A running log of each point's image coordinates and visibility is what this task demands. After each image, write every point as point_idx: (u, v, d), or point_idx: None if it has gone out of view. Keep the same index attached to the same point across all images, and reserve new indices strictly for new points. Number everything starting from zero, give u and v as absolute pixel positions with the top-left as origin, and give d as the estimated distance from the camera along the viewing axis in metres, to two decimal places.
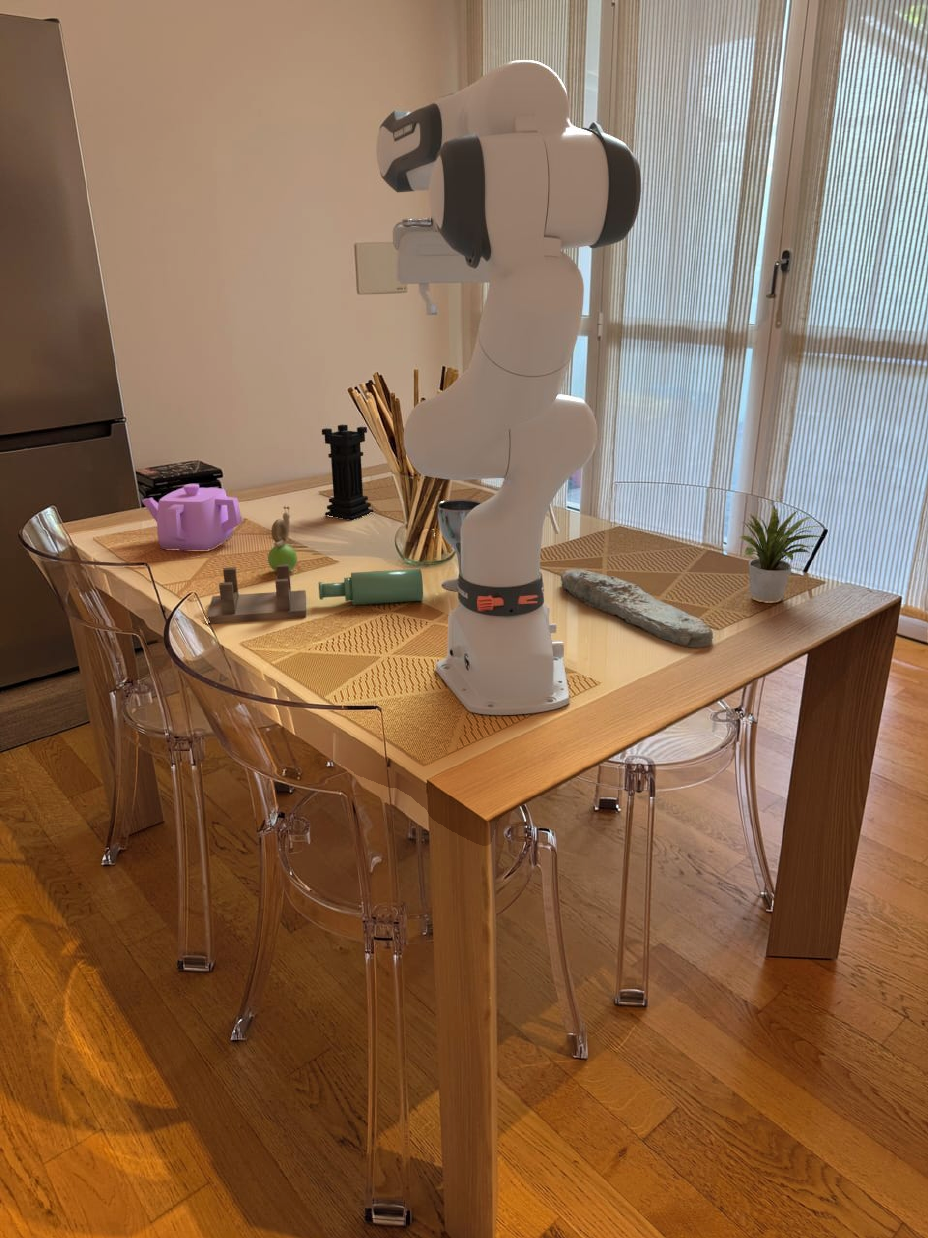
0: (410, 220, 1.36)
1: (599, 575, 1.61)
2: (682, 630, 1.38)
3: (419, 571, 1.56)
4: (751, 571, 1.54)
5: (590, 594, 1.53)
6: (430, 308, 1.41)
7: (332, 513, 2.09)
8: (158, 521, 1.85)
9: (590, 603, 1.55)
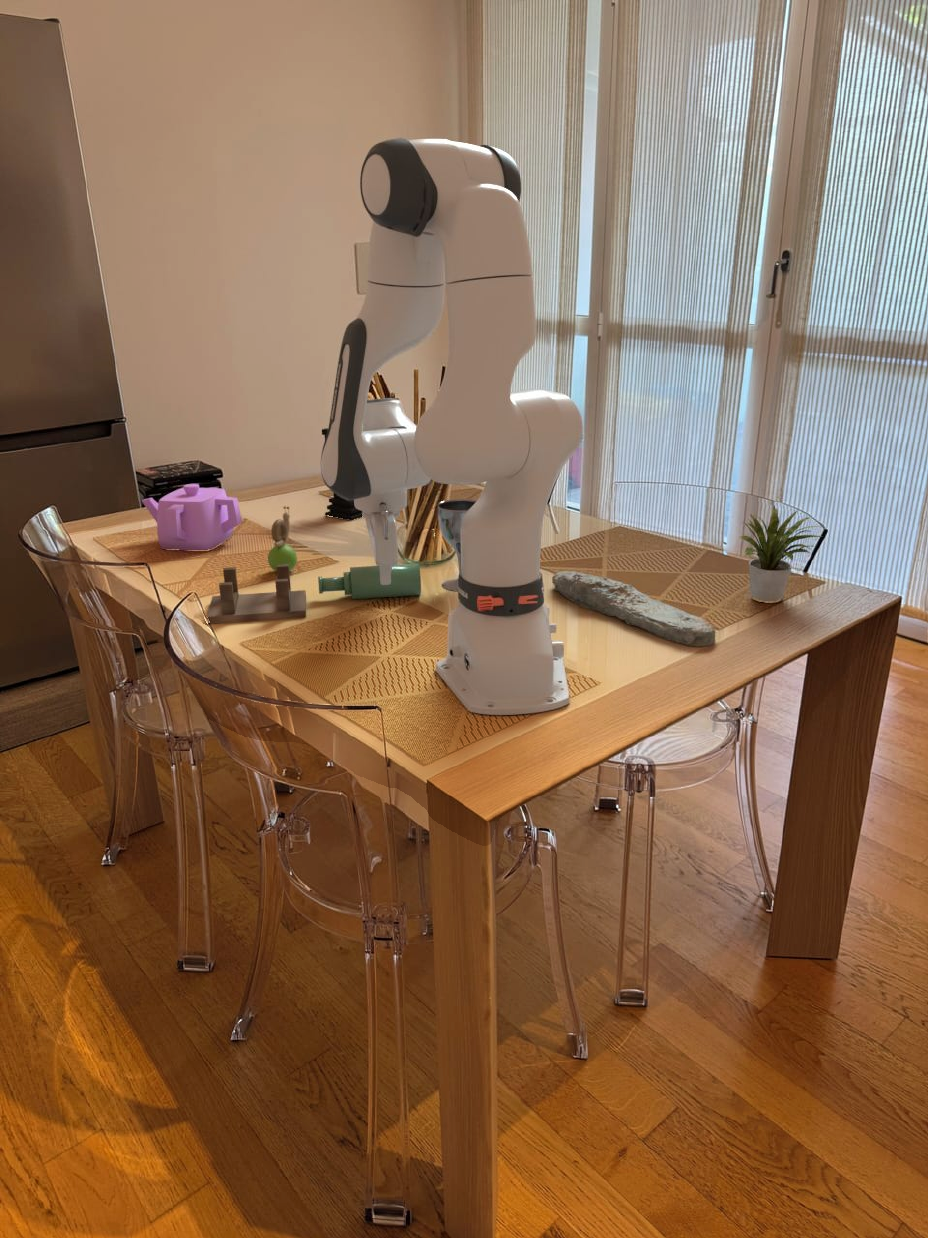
0: (387, 510, 1.44)
1: (591, 576, 1.60)
2: (686, 629, 1.38)
3: None
4: (751, 571, 1.54)
5: (586, 596, 1.52)
6: (390, 578, 1.51)
7: (332, 513, 2.09)
8: (158, 521, 1.85)
9: (586, 605, 1.54)
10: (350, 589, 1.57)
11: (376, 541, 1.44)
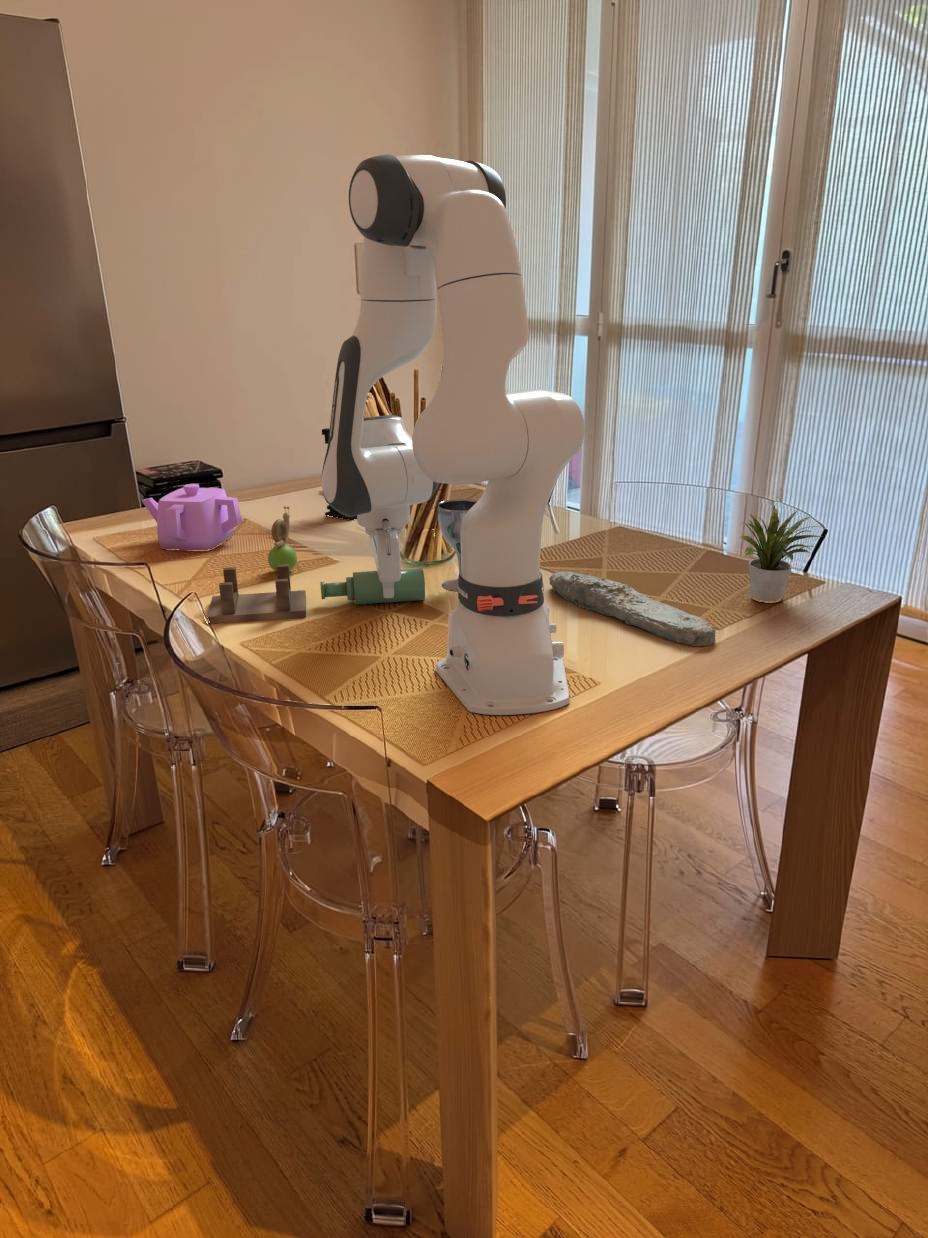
0: (389, 526, 1.45)
1: (589, 577, 1.60)
2: (687, 629, 1.38)
3: None
4: (751, 571, 1.54)
5: (585, 596, 1.52)
6: (393, 591, 1.53)
7: (332, 513, 2.09)
8: (158, 521, 1.85)
9: (584, 605, 1.53)
10: (353, 598, 1.55)
11: (379, 557, 1.44)
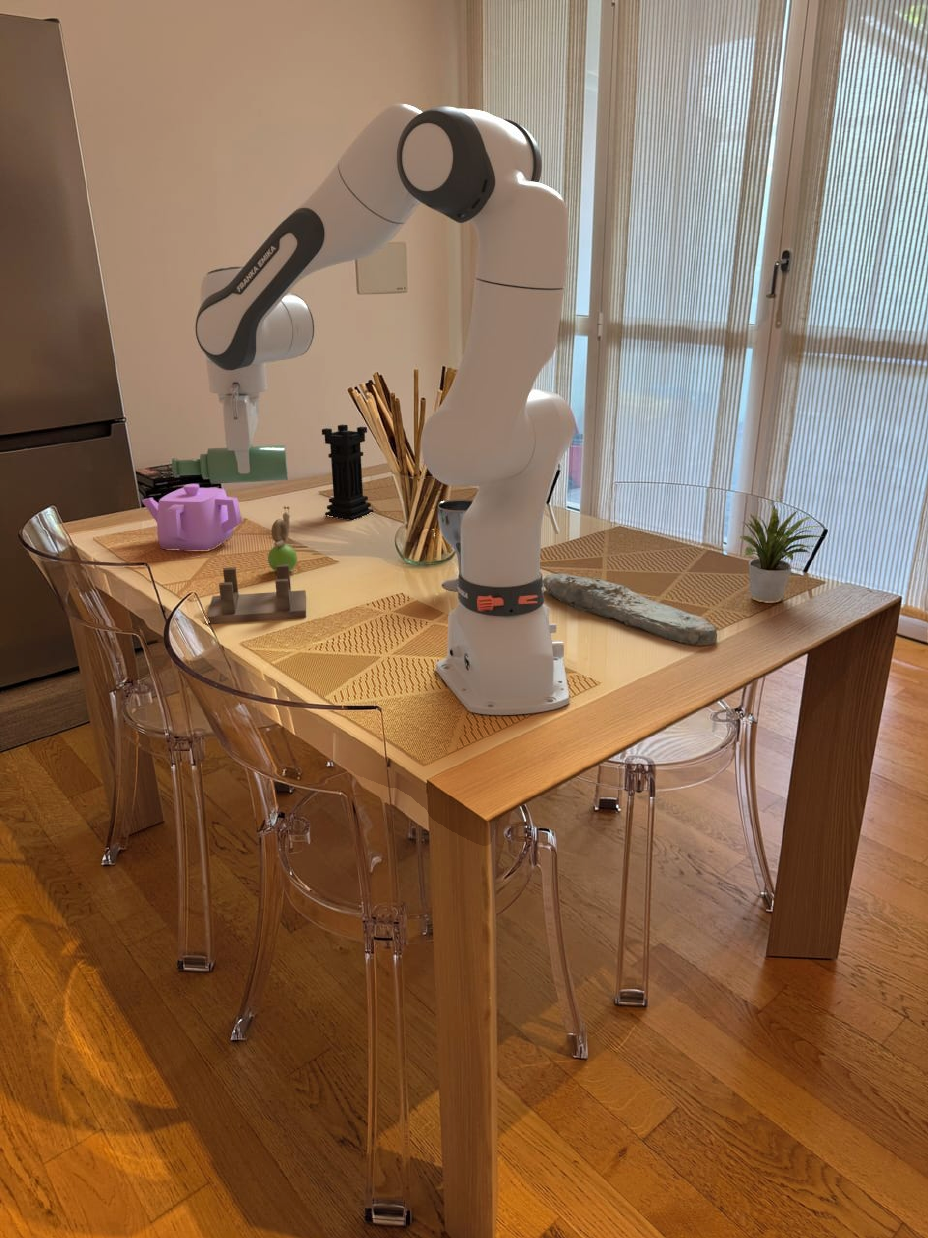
0: (236, 387, 1.33)
1: (582, 578, 1.59)
2: (689, 629, 1.38)
3: None
4: (751, 571, 1.54)
5: (582, 598, 1.51)
6: (249, 466, 1.42)
7: (332, 513, 2.09)
8: (158, 521, 1.85)
9: (581, 607, 1.53)
10: (208, 476, 1.43)
11: (225, 421, 1.33)
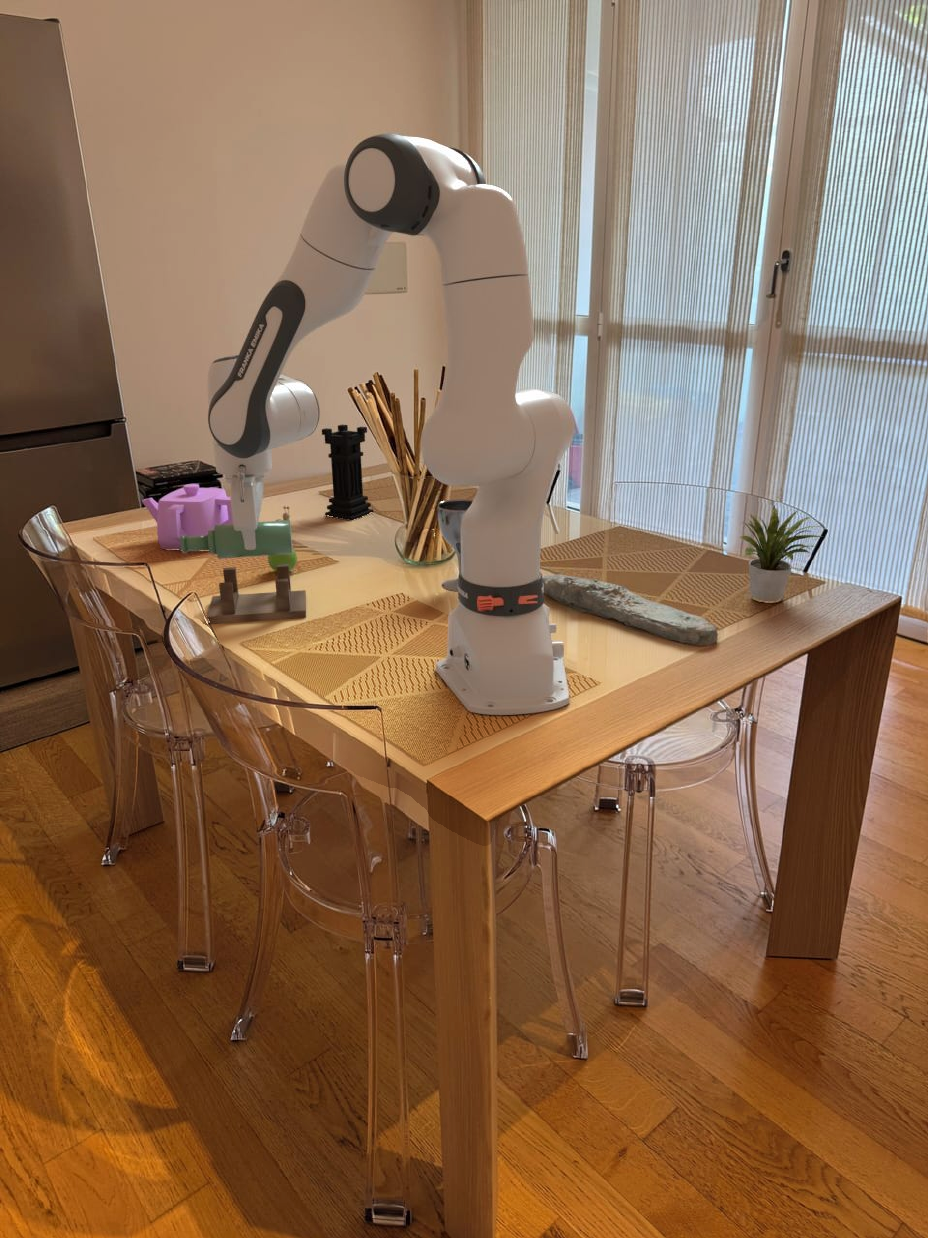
0: (243, 471, 1.38)
1: (580, 579, 1.59)
2: (690, 629, 1.38)
3: None
4: (751, 571, 1.54)
5: (581, 599, 1.51)
6: (255, 543, 1.46)
7: (332, 513, 2.09)
8: (158, 521, 1.85)
9: (580, 608, 1.52)
10: (215, 551, 1.48)
11: (232, 504, 1.38)
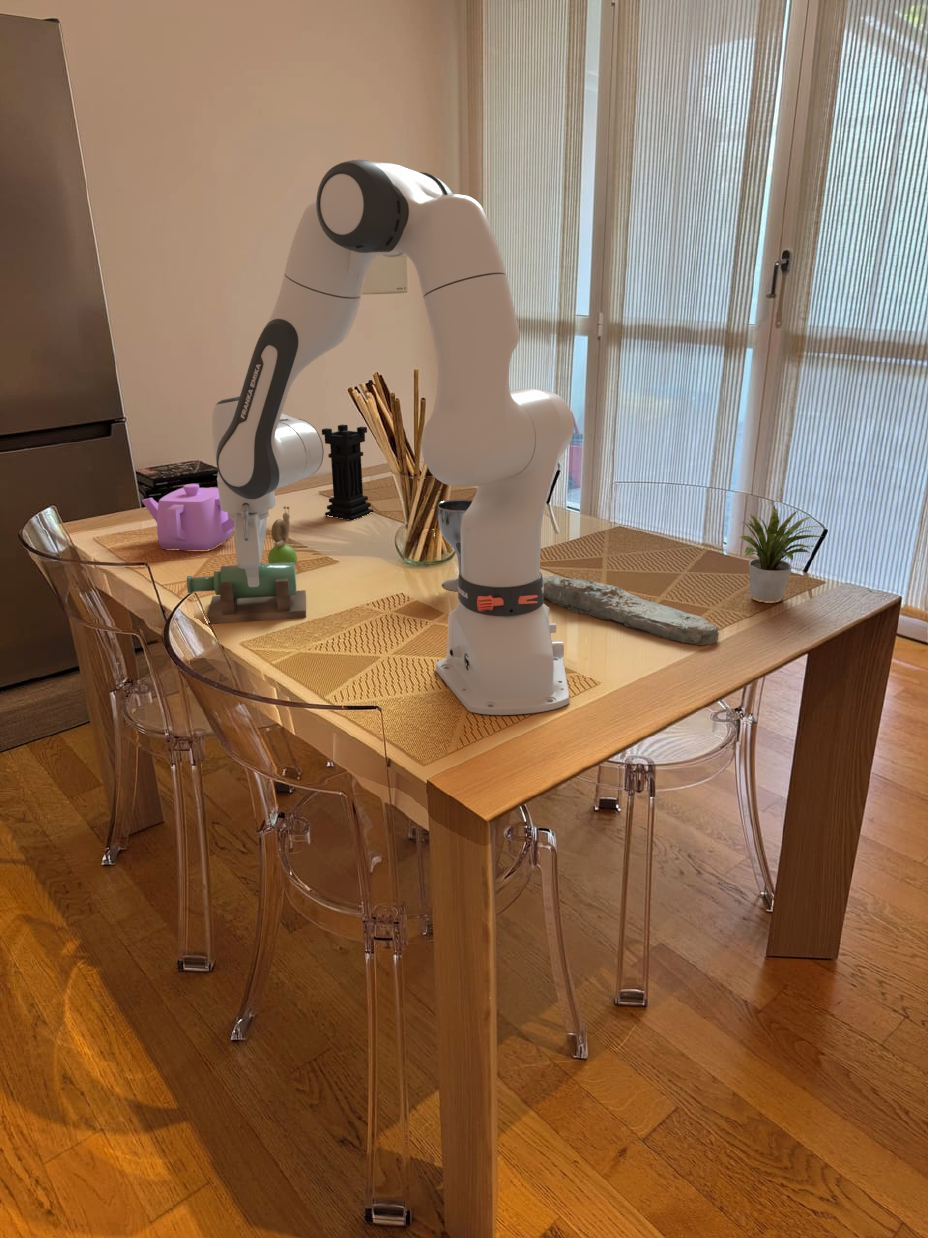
0: (247, 510, 1.40)
1: (575, 580, 1.58)
2: (692, 629, 1.38)
3: None
4: (751, 571, 1.54)
5: (579, 601, 1.50)
6: None
7: (332, 513, 2.09)
8: (158, 521, 1.85)
9: (578, 610, 1.52)
10: None
11: (236, 542, 1.40)
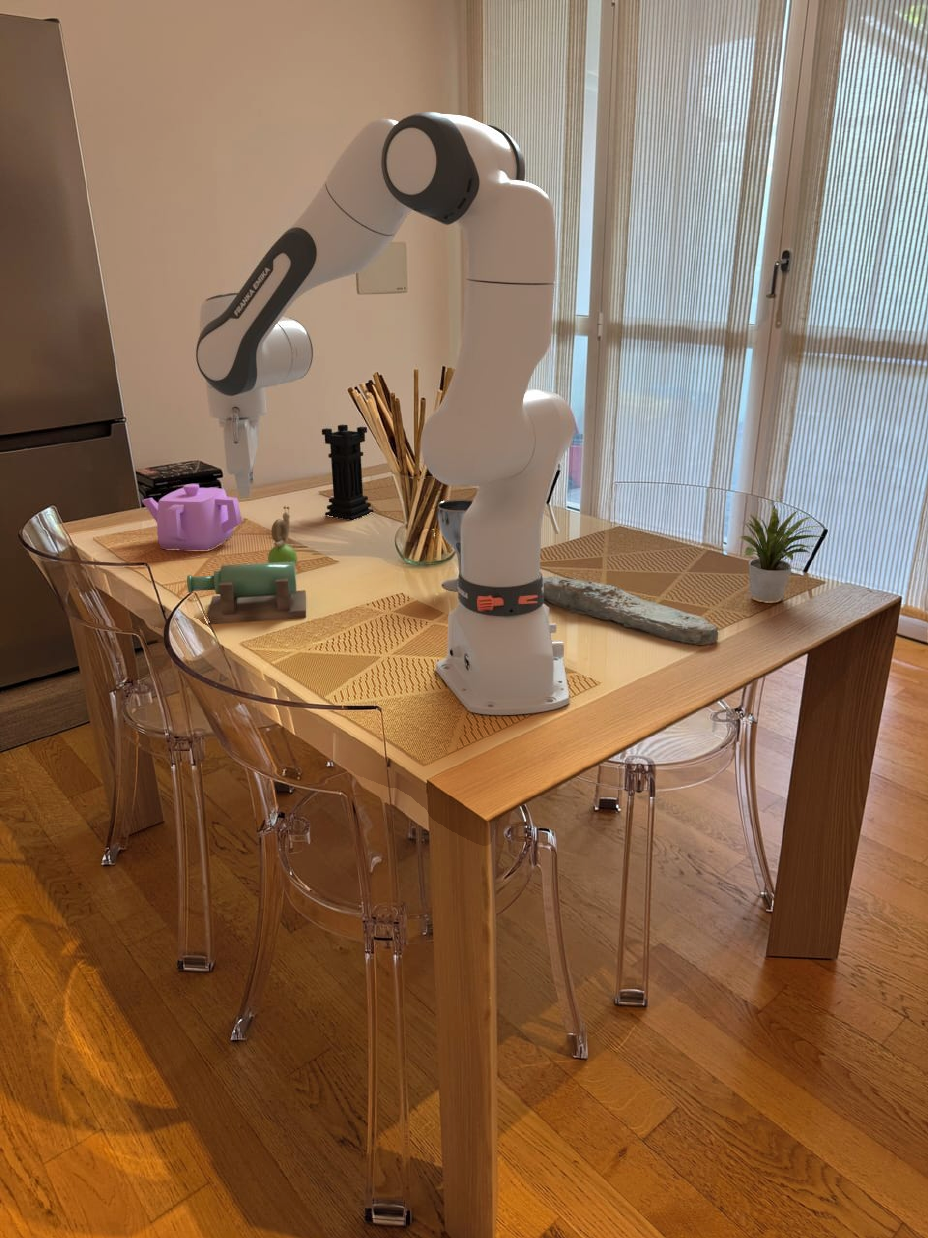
0: (236, 412, 1.35)
1: (574, 581, 1.58)
2: (692, 629, 1.38)
3: None
4: (751, 571, 1.54)
5: (578, 601, 1.50)
6: (250, 491, 1.42)
7: (332, 513, 2.09)
8: (158, 521, 1.85)
9: (577, 610, 1.51)
10: None
11: (225, 445, 1.34)
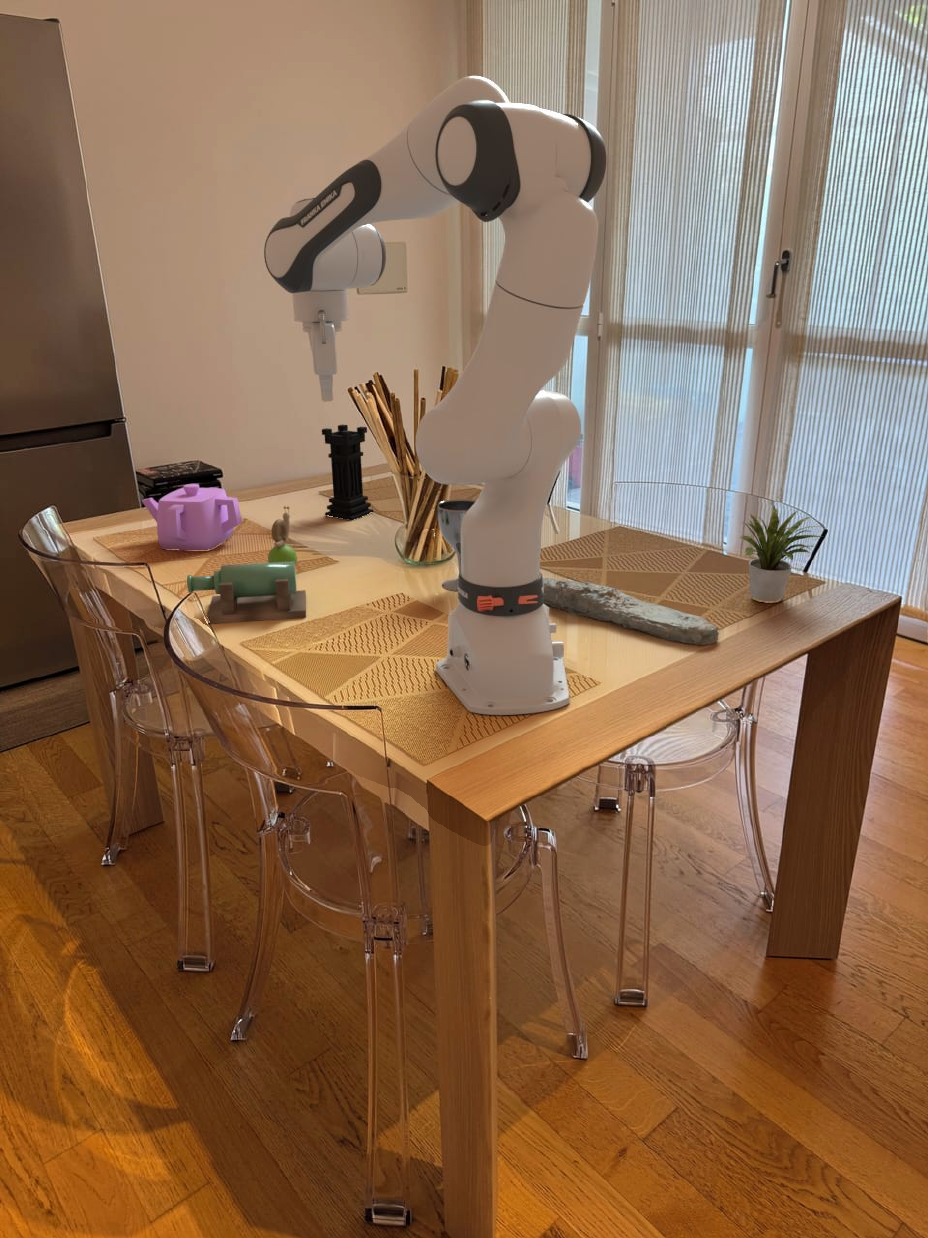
0: (324, 313, 1.39)
1: (570, 582, 1.57)
2: (692, 629, 1.38)
3: None
4: (751, 571, 1.54)
5: (576, 603, 1.49)
6: (332, 394, 1.46)
7: (332, 513, 2.09)
8: (158, 521, 1.85)
9: (575, 612, 1.51)
10: None
11: (313, 345, 1.39)
